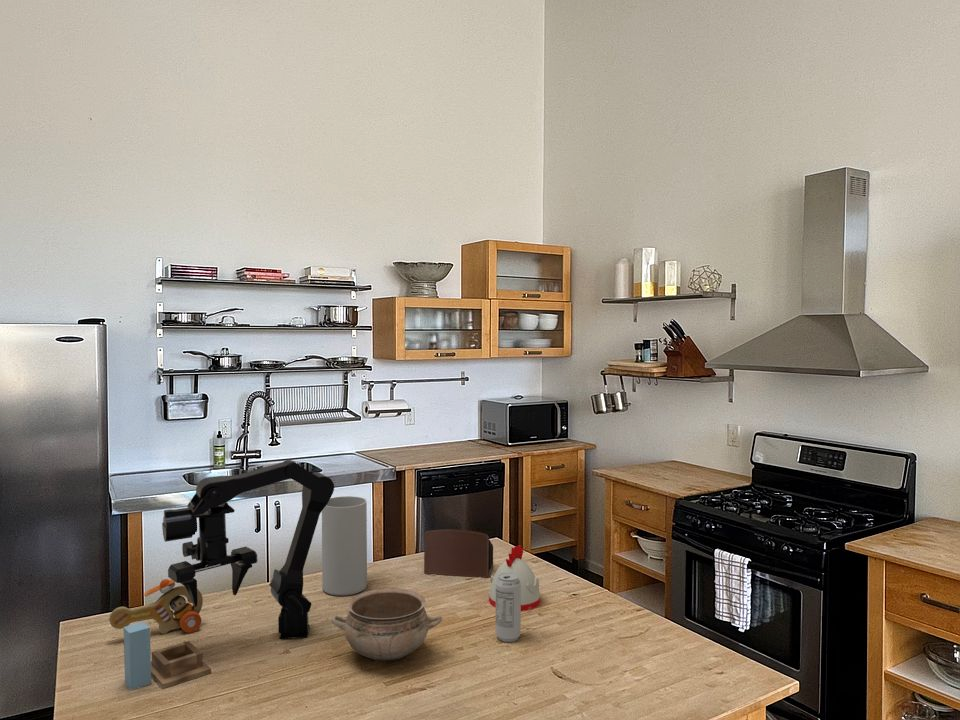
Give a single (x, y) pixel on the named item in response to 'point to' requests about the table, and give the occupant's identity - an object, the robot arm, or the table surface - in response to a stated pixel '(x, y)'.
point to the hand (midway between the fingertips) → (215, 600)
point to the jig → (178, 664)
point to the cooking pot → (386, 623)
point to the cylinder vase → (344, 546)
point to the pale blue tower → (137, 655)
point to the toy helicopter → (163, 610)
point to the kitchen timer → (525, 576)
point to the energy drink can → (508, 607)
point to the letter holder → (457, 553)
